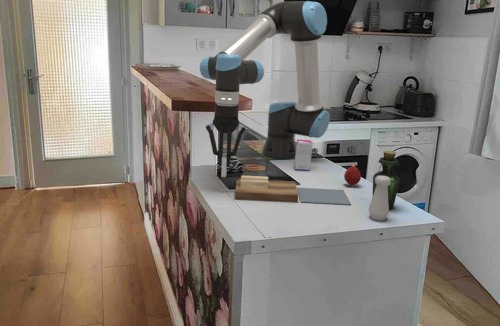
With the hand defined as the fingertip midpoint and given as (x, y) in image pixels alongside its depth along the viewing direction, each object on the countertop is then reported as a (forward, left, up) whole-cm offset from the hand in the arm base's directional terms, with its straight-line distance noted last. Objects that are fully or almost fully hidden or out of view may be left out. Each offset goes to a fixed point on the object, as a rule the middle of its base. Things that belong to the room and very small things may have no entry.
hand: (223, 175), depth 153 cm
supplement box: (-32, +29, -6) cm, 44 cm away
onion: (-13, +45, -6) cm, 47 cm away
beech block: (0, +10, -3) cm, 11 cm away
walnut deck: (0, +14, -6) cm, 15 cm away
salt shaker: (+17, +47, -6) cm, 50 cm away
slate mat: (0, +33, -6) cm, 34 cm away
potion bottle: (+7, +51, -6) cm, 52 cm away
